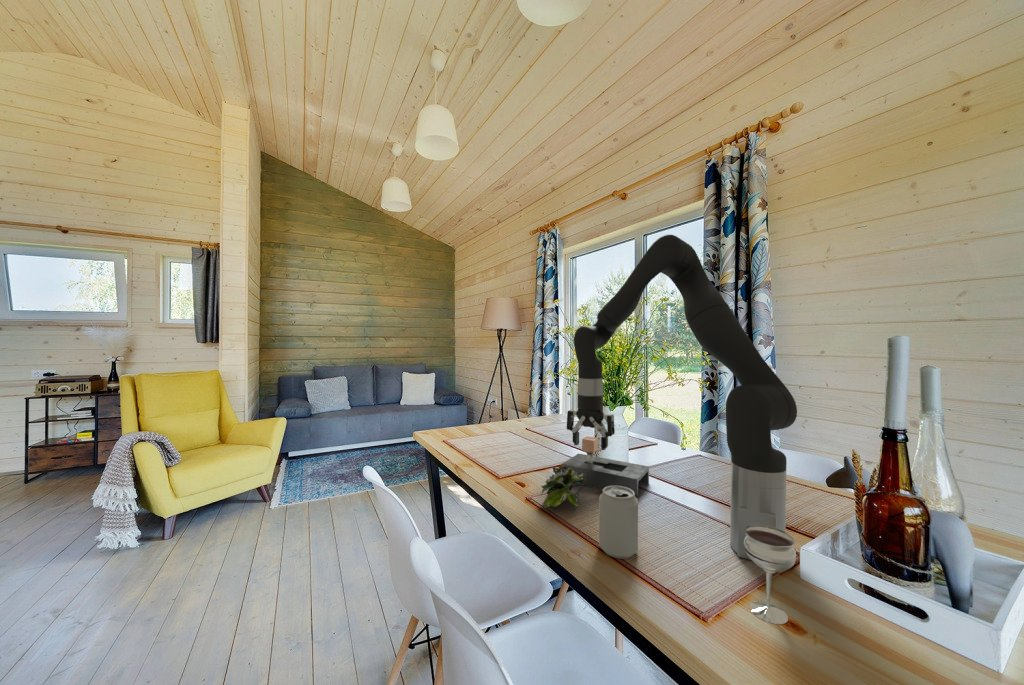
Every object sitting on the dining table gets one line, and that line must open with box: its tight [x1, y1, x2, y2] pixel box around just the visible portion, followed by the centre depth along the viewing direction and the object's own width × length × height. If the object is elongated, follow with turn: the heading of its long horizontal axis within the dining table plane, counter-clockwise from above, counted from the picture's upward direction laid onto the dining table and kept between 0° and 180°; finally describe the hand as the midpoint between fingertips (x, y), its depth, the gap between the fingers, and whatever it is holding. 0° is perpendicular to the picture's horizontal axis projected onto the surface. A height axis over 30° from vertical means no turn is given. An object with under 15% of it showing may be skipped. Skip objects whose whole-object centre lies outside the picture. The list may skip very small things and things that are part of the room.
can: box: [598, 486, 639, 560], centre depth 77 cm, size 8×8×12 cm
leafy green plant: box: [540, 465, 587, 511], centre depth 98 cm, size 11×11×12 cm
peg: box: [581, 436, 599, 464], centre depth 115 cm, size 4×4×12 cm
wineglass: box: [744, 525, 797, 625], centre depth 60 cm, size 7×7×12 cm
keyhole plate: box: [561, 453, 650, 499], centre depth 113 cm, size 12×22×5 cm, turn 56°
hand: (589, 447), depth 115 cm, fingers open, 8 cm apart
